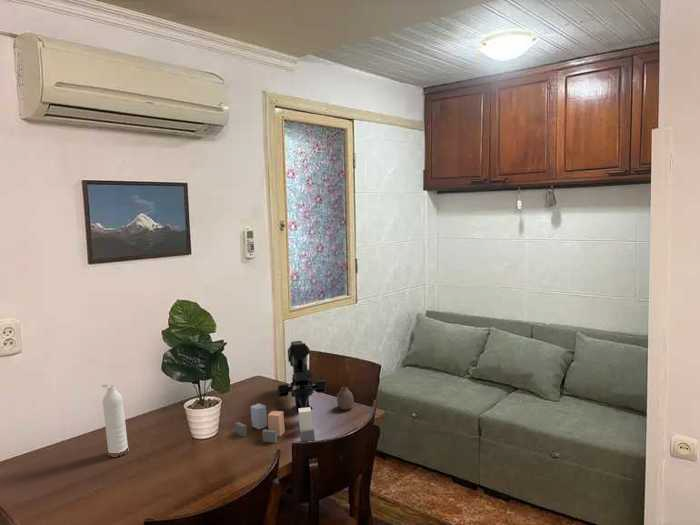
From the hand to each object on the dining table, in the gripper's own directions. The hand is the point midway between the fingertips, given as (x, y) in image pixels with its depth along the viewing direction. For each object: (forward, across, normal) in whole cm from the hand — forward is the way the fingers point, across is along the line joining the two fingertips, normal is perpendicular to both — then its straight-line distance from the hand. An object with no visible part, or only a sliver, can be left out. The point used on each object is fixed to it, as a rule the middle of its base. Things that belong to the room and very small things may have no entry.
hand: (304, 408), depth 203 cm
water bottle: (+8, -67, +1) cm, 68 cm away
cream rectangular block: (+8, 0, +1) cm, 8 cm away
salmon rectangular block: (+8, -11, +1) cm, 14 cm away
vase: (-4, +17, +14) cm, 23 cm away
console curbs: (+10, -12, 0) cm, 15 cm away
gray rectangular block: (+2, -17, +7) cm, 19 cm away
